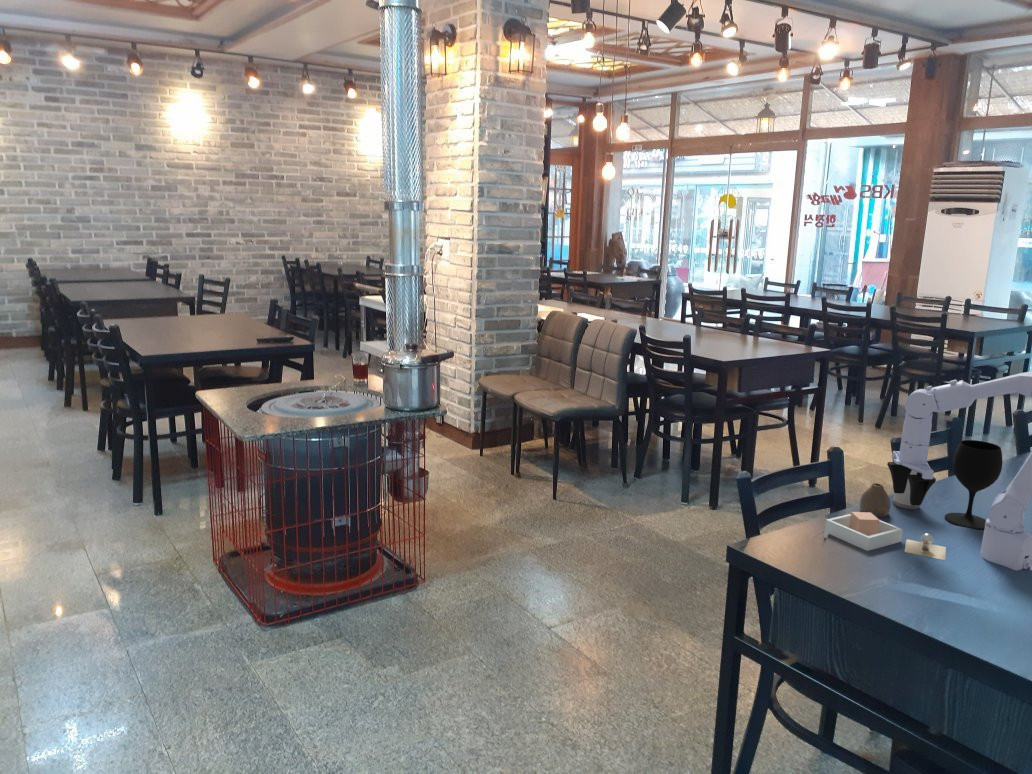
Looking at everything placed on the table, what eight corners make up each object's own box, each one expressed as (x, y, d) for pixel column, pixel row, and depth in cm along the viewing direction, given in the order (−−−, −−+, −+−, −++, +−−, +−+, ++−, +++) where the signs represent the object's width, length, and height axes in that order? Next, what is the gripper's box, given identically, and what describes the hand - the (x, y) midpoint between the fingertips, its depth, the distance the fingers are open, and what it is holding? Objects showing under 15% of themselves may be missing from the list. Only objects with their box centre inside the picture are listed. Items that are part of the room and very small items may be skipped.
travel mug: (917, 511, 204) (929, 437, 200) (890, 505, 208) (901, 432, 204) (922, 505, 209) (934, 432, 205) (895, 499, 213) (906, 427, 208)
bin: (900, 547, 182) (902, 529, 181) (866, 557, 176) (869, 538, 175) (856, 529, 192) (859, 511, 191) (823, 537, 186) (826, 519, 185)
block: (867, 536, 186) (870, 512, 185) (875, 544, 181) (879, 519, 180) (848, 536, 186) (851, 511, 185) (856, 543, 181) (859, 519, 180)
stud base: (944, 553, 179) (948, 531, 178) (944, 566, 173) (947, 544, 171) (905, 545, 183) (908, 524, 182) (903, 557, 176) (906, 536, 175)
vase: (856, 519, 198) (861, 486, 196) (859, 510, 204) (863, 478, 202) (887, 525, 195) (892, 491, 193) (889, 516, 201) (893, 483, 199)
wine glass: (949, 510, 206) (961, 436, 201) (995, 521, 199) (1008, 445, 195) (939, 522, 198) (952, 445, 193) (987, 533, 192) (1001, 454, 187)
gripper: (882, 432, 188) (875, 487, 191) (914, 451, 173) (906, 510, 176) (911, 433, 188) (904, 488, 191) (946, 451, 174) (937, 510, 177)
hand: (907, 498), depth 184 cm, fingers open, 7 cm apart
